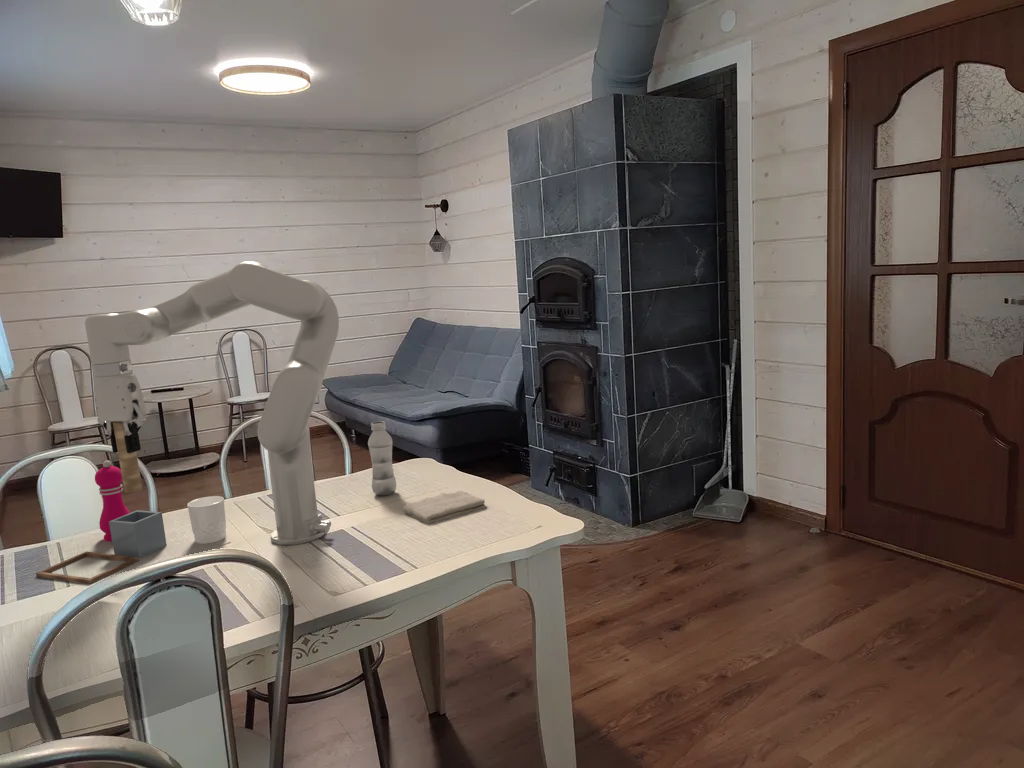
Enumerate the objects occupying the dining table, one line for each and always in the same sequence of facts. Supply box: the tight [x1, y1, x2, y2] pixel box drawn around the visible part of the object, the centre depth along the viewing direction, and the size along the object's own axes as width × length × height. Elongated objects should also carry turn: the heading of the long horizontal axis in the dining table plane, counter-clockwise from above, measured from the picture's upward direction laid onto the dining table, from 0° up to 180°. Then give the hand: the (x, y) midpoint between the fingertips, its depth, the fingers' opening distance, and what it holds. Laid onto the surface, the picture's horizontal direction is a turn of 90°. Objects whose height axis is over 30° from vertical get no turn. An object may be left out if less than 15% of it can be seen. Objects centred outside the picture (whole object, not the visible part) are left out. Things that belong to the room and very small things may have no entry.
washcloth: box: [402, 490, 486, 524], centre depth 184 cm, size 12×18×3 cm, turn 127°
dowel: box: [113, 422, 144, 494], centre depth 165 cm, size 4×4×16 cm
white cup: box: [186, 495, 227, 545], centre depth 173 cm, size 8×8×10 cm
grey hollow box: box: [109, 509, 168, 559], centre depth 168 cm, size 8×8×9 cm
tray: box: [35, 551, 140, 585], centre depth 159 cm, size 16×12×2 cm
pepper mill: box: [94, 459, 131, 542], centre depth 177 cm, size 7×7×20 cm
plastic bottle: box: [367, 420, 397, 496], centre depth 200 cm, size 6×7×20 cm
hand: (126, 450), depth 164 cm, fingers closed on dowel, 3 cm apart
